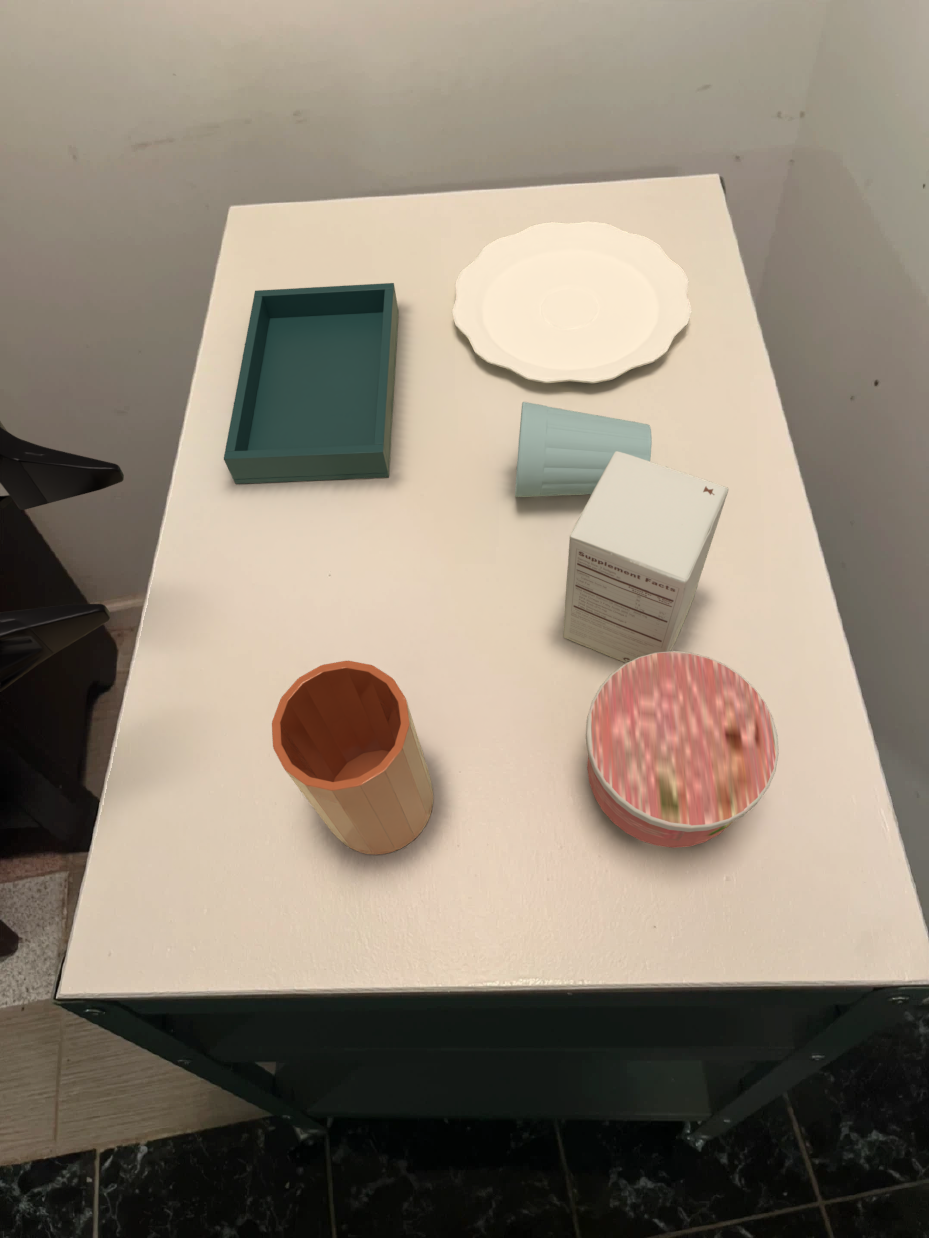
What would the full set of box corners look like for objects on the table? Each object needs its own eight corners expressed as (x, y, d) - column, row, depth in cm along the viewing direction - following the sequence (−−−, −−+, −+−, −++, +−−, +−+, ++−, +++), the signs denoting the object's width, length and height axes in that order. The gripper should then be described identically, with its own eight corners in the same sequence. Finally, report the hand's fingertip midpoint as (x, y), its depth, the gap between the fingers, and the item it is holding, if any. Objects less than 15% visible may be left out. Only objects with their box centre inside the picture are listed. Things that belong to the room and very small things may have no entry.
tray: (388, 477, 67) (383, 452, 64) (235, 484, 67) (223, 459, 65) (398, 311, 76) (393, 282, 74) (264, 318, 77) (254, 290, 74)
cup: (633, 513, 65) (513, 504, 66) (640, 425, 66) (520, 416, 66) (650, 497, 58) (516, 487, 59) (657, 398, 59) (523, 389, 59)
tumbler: (330, 863, 52) (275, 800, 40) (321, 758, 55) (269, 673, 44) (440, 843, 52) (416, 775, 40) (425, 740, 55) (399, 650, 44)
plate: (734, 339, 72) (739, 324, 70) (522, 429, 68) (522, 415, 67) (609, 211, 81) (610, 195, 80) (417, 284, 78) (415, 268, 76)
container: (581, 862, 51) (590, 825, 44) (576, 704, 56) (583, 649, 49) (756, 865, 50) (793, 829, 43) (734, 705, 55) (765, 650, 48)
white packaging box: (600, 560, 61) (616, 444, 50) (696, 596, 59) (734, 485, 48) (558, 639, 58) (565, 534, 47) (658, 680, 56) (689, 582, 45)
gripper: (-397, 655, 32) (21, 609, 33) (-251, 324, 41) (71, 297, 42) (-196, 759, 41) (122, 721, 42) (-114, 472, 51) (145, 446, 52)
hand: (114, 538), depth 44 cm, fingers open, 9 cm apart
